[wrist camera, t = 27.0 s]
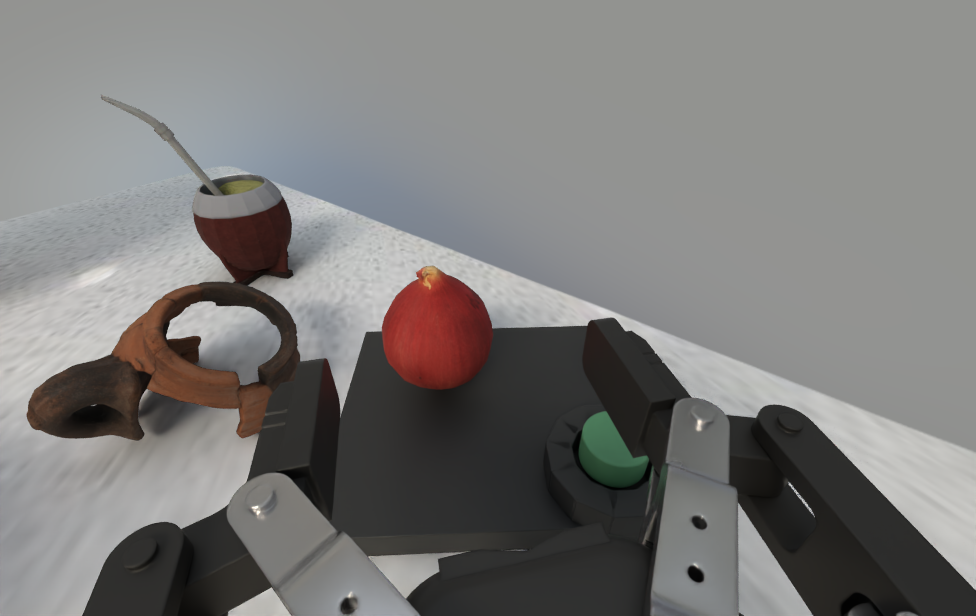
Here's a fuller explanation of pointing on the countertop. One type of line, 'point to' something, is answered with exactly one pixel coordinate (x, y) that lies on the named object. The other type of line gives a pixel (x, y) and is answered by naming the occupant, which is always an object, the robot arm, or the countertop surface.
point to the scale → (475, 453)
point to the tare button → (608, 454)
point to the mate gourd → (235, 215)
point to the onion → (437, 331)
